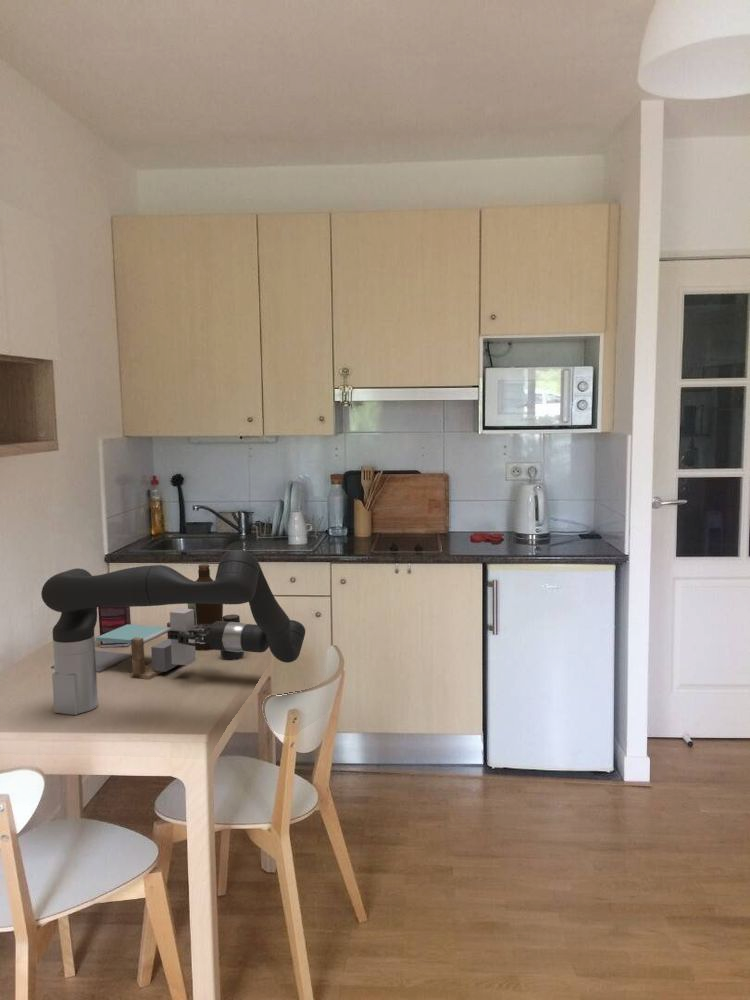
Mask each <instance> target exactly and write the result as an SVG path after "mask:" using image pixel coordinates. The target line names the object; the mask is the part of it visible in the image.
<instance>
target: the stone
mask: <svg viewBox="0 0 750 1000" xmlns="http://www.w3.org/2000/svg"><path fill="white" fill-rule="evenodd" d="M169 622H170V630H173V631H189V630H190V629H194V609H188V608H177V609H174V610H172V611H169ZM193 633H194V632H192V635H193ZM171 656H172V664H177V666H188V665H190V664H192V663H193V662H195V661H197V660H196V649H195V646H190V645H185V644H180V643H178V640H175V639H171Z"/></svg>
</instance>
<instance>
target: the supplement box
mask: <svg viewBox="0 0 750 1000" xmlns="http://www.w3.org/2000/svg"><path fill="white" fill-rule="evenodd" d="M97 615H98V626H99V628H98V629H99V636H101V635H103V634H105V633H108V632H110V631H113V630H115V629H117V628H120V627H122V626H124V625H127V624H128V625H132V621H131V620H132V619H131V607H97ZM99 642H100V648H117V647H119V648H120V647H121V648H122V646H125V647H129V646H130V645H131V644H130V643H117V642H105V641H99Z"/></svg>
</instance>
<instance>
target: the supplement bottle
mask: <svg viewBox="0 0 750 1000" xmlns="http://www.w3.org/2000/svg"><path fill="white" fill-rule="evenodd" d="M223 621H225V622H239V623H241V620H240V615H239V614H232V613H231V614H226V615H223ZM219 651H220V658H222V659H223V660H226V659H228V660H227V661H234V660H233V659H236V660H240V659H242V658H243V657H244V656H245V651H241V652H234V651H222V650H219ZM239 658H240V659H239Z"/></svg>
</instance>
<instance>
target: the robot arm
mask: <svg viewBox="0 0 750 1000" xmlns="http://www.w3.org/2000/svg"><path fill="white" fill-rule="evenodd" d="M40 593H41V599H42V602H43V603H44V604H45V606H47V608H49V609H51V610H52V611H55V612H58V613H61V614H60V616H59V619H58V620H57V622H56V624H55V625H54V626H53V627H52V643H53V644H52V646H53V647H52V648H53V662H54V663H53V664H54V666H55V668H54V672H53V673H52V675H51V676H52V677H51V679H52V693H53V694H52V695H53V709H54V711H53V712H54V713H56V714H64V715H71V716H72V715H73V716H74V715H75V716H77V715H79V714H82V713H86V712H90V711H92V710H94V709H96V708H97V707H98V706H99V696H98V695H99V694H98V693H99V691H98V678H97V677H98V676H97V673H98V672H96V655H95V651H96V645H95V644H96V642H95V641H96V638H95V628H96V626H97V625H96V624H97V622H98V607H130V608H132V607H134V608H135V607H154V606H155V607H156V606H157V607H158V606H166V605H167V606H168V605H184V604H185V605H186V604H187V605H188V604H190V603H200V604H223V605H242V604H246V603H248V605H249V608H250V612H251V614H252V617H253V620H254V622H255V623H256V624H251V623H248V624H247V623H244V622H240V623H239V622H225V621H216V622H214V623H213V624H197V626H196V625H194V629H190V630H189V631H173V630H170V631H168V632H167V633H168V635H167V639H175V640H178V643H180V644H185V645H190V646H196V643H200V644H206V642H208V643H209V645H210V647H211V648H212V649H211V650H214V651H220V650H222V651H234V652H241V651H244V652H249V653H258V654H259V653H265V652H266V651H267V650H268V649H269V650H270V652H271V653H272V655H273V657H275V659H276V660H278V661H280V662H283V663H287V664H288V663H294V662H295V661H296V660H297V659H299V656H300V654H301V651H302V646H303V644H304V638H305V636H306V628H305V626H304V625H303V623H301V622H300V621H298V620H293V619H290V618H289V616H288V615H287V613H286V612H285V610H284V609H283V608H282V607H281V605H280V604H279V603H278V601H277V599H276V598H275V596H274V594H273V591H272V590H271V588H270V586H269V583H268V581H267V579H266V577H265V575H264V572H263V569H262V567H261V565H260V563H259V561H258V559H257V558H256V556H254V555H253V554H252V553H250V552H248V551H245V550H242V549H230V550H228V551H225V552H224V553H223V555H221V557H220V559H219V562H218V566H217V570H216V574H215V577H214V579H213V581H211V582H197V581H196V580H193V579H190V578H189V577H186V576H185V575H183V574H182V573H180V572H179V571H177V570H176V569H174V568H172V567H170V566H167V565H162V564H158V565H157V564H155V565H154V564H153V565H152V564H151V565H141V566H136V567H135V566H133V567H128V568H124V569H120V570H119V569H118V570H115V571H112V572H111V571H110V572H108V573H103V574H97V575H92V573H90V572H89V571H88V570H86V569H83V568H78V567H77V568H73V569H69V570H66V571H63V572H59V573H56V574H54V575H52V576H51V577H49V579H47V580H46V582H45V583H44V584H43V586H42V587H41V592H40ZM192 632H194V633H193V635H192ZM167 633H166V634H167Z"/></svg>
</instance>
